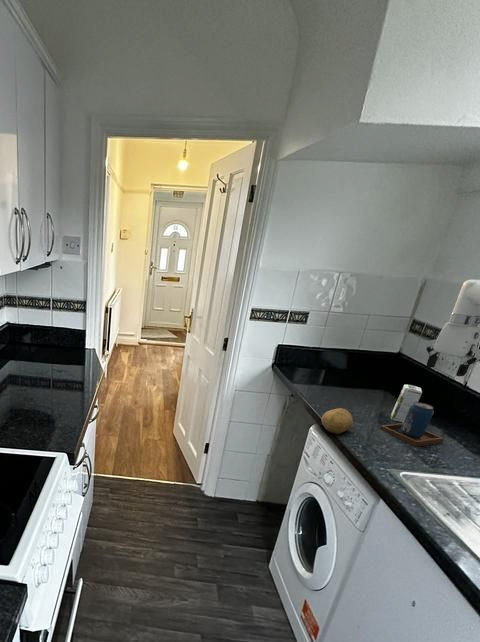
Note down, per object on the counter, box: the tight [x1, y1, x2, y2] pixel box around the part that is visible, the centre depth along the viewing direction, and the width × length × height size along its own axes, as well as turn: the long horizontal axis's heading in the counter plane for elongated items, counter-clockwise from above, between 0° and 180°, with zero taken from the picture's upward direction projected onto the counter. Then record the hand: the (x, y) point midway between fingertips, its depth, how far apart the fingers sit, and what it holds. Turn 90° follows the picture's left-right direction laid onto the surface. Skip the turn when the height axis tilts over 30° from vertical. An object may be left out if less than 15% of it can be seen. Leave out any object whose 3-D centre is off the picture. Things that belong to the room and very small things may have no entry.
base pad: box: [379, 422, 444, 447], centre depth 151 cm, size 14×14×2 cm
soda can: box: [400, 401, 434, 439], centre depth 149 cm, size 7×7×12 cm
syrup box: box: [390, 384, 423, 423], centre depth 162 cm, size 6×6×14 cm
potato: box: [321, 407, 354, 435], centre depth 151 cm, size 10×14×8 cm
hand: (444, 371), depth 139 cm, fingers open, 9 cm apart
